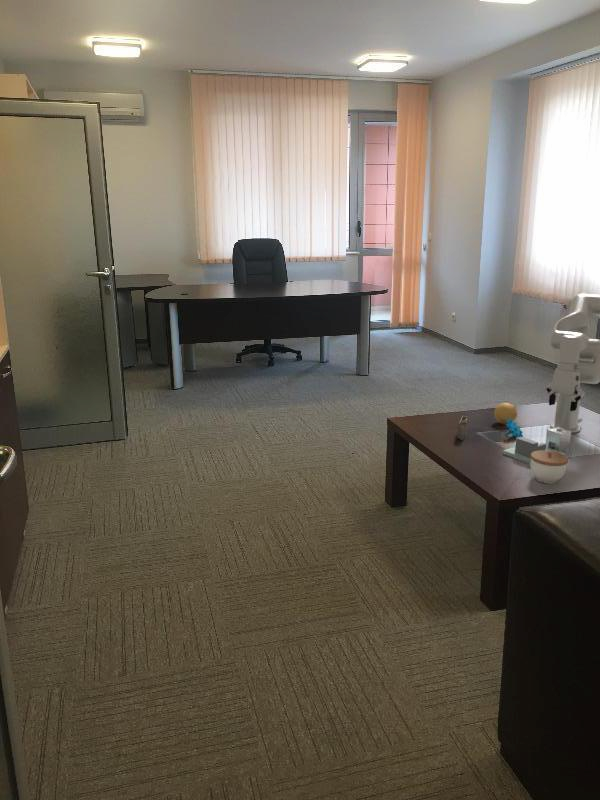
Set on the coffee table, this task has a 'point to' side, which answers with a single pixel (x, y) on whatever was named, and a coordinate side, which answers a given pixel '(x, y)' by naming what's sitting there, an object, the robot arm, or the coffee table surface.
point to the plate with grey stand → (526, 449)
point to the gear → (513, 428)
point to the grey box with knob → (558, 439)
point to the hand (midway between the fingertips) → (562, 407)
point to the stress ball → (505, 412)
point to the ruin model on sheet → (463, 427)
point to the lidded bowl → (548, 465)
